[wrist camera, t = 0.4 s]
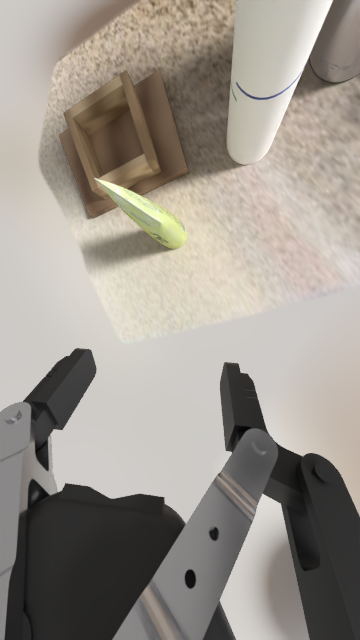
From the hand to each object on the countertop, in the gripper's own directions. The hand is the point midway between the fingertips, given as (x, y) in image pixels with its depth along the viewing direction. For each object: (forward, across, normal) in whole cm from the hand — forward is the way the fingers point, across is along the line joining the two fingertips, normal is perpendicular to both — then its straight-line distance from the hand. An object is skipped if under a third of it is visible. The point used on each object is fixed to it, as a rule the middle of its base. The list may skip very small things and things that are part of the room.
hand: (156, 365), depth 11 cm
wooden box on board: (+36, +12, -14) cm, 41 cm away
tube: (+31, +3, -2) cm, 31 cm away
